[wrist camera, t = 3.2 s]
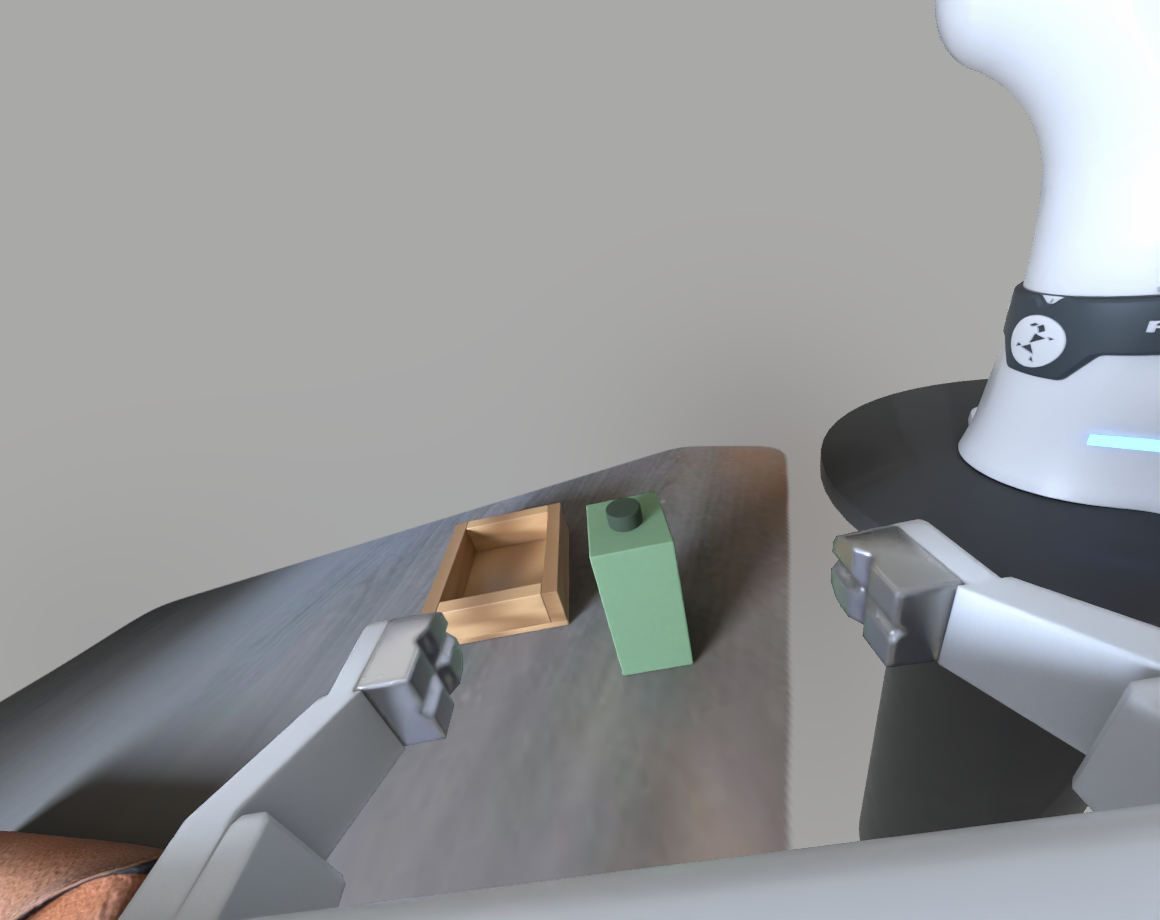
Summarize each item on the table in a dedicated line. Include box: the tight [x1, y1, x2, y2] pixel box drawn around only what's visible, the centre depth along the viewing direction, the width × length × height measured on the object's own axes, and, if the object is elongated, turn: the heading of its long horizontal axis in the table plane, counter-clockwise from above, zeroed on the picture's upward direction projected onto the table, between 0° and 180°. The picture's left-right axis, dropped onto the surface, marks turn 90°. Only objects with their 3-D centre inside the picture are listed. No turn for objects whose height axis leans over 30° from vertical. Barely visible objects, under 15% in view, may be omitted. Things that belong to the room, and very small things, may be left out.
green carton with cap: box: [586, 491, 693, 675], centre depth 26 cm, size 4×5×11 cm
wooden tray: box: [421, 503, 569, 644], centre depth 36 cm, size 10×11×4 cm
